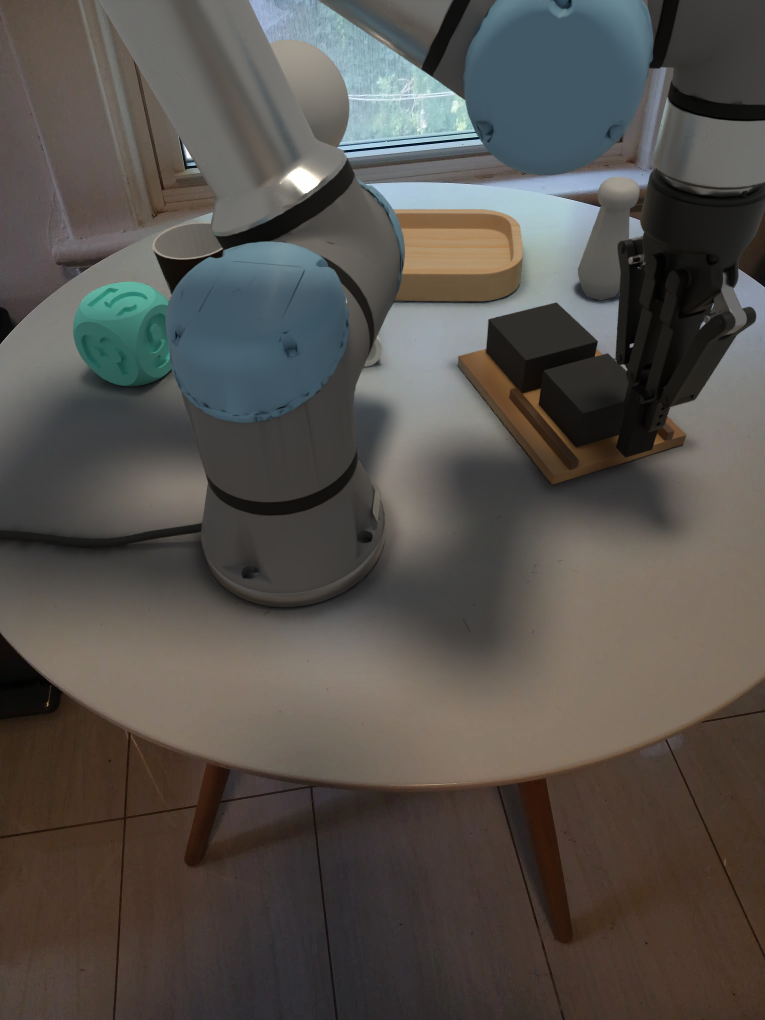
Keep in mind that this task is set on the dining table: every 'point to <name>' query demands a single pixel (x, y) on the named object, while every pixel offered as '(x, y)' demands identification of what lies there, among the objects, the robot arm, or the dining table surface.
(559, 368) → the black rectangular block
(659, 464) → the dining table surface
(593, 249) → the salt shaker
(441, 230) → the lamp
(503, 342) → the pad
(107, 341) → the decorative dice
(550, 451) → the tray
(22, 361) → the dining table surface
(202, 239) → the coffee mug
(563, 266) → the dining table surface
